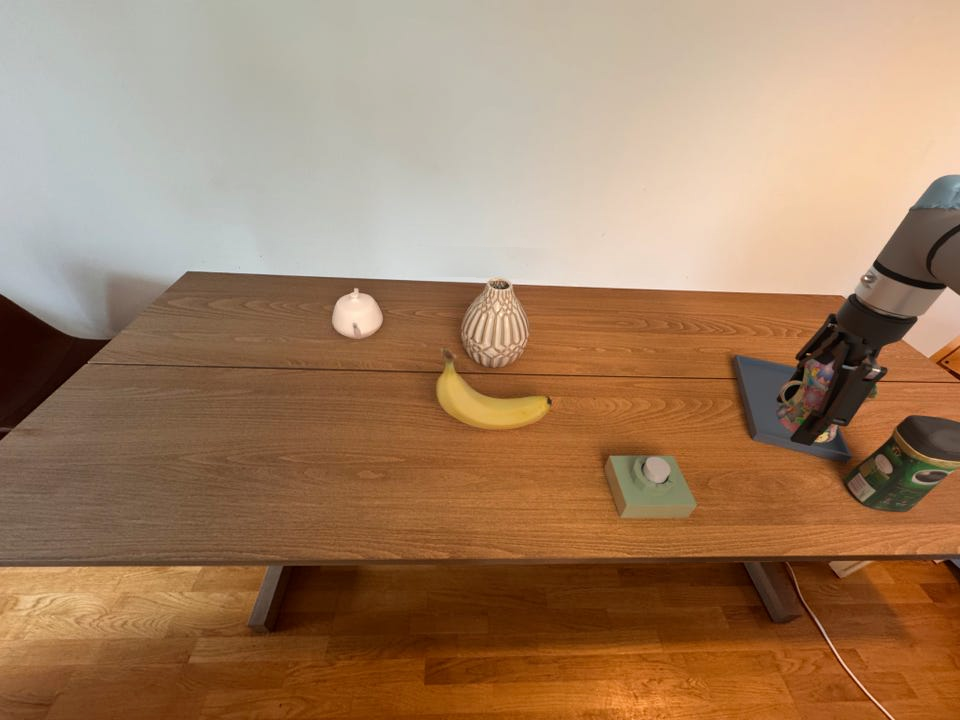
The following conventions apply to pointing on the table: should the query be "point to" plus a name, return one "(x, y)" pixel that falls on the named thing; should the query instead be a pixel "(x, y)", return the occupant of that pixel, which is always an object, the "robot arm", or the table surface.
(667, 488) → the green button box
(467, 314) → the vase
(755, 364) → the tray
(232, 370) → the table surface
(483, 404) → the banana
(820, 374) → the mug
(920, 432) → the coffee jar
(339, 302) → the teapot
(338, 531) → the table surface
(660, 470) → the button
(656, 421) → the table surface
